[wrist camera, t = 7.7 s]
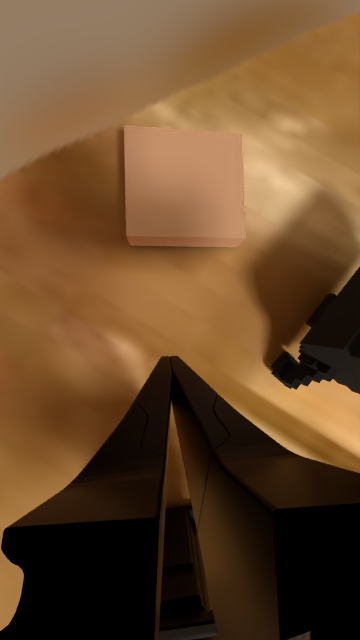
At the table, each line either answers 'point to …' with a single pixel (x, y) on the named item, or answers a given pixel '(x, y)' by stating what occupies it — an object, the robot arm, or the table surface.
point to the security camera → (328, 343)
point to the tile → (183, 187)
